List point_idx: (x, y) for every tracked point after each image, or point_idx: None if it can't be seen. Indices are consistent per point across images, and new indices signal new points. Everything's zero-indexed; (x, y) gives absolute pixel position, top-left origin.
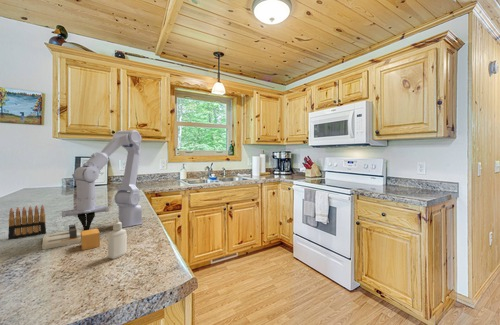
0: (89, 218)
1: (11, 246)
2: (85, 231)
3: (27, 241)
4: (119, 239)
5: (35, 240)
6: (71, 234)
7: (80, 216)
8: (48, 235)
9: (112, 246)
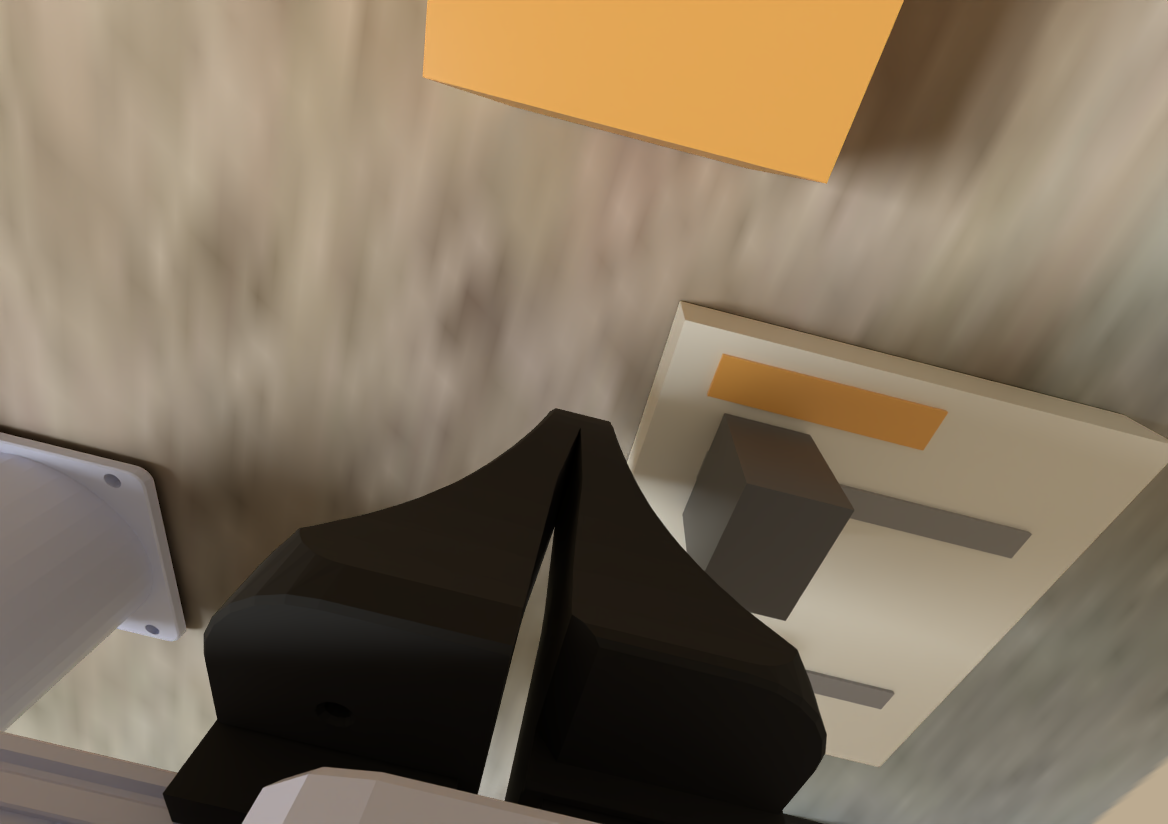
0: (473, 548)
1: (1132, 737)
2: (774, 12)
3: (975, 756)
4: None
5: (925, 735)
6: (806, 466)
7: (715, 777)
8: (866, 728)
9: None
